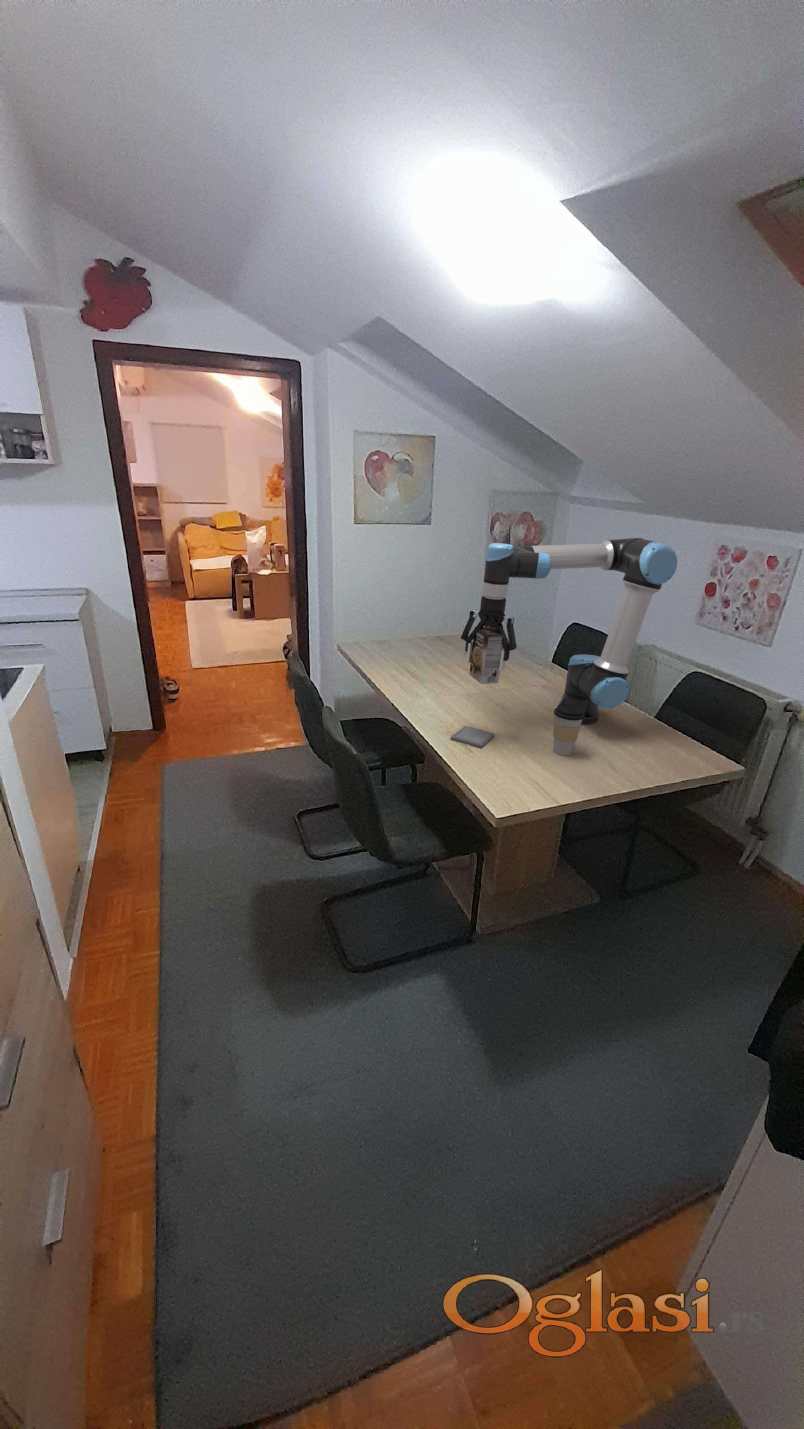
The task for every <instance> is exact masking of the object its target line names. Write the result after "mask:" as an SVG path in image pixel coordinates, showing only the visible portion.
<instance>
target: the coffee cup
mask: <svg viewBox="0 0 804 1429" xmlns="http://www.w3.org/2000/svg"><path fill="white" fill-rule="evenodd" d="M553 715H554V720H553V744H552V745H553V749H552V750H553V752H554V753H555V754H557V755H561V756H571V755H572V754H573V751H574V748H575V745H576V742H577V740H578V736H579V732H580V730H581V726H582V724H581V722H582V719H584V718H585V716H584V715H585V714H584V712H583V709H582V708H581V707H579V706H576V705H573V704H560V705H558V704H557V707H556V708H554V711H553Z"/></svg>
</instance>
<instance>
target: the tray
mask: <svg viewBox="0 0 804 1429" xmlns="http://www.w3.org/2000/svg"><path fill="white" fill-rule="evenodd" d="M494 738H495V733H493V732H489V731H486V730H483V729H478V728H476V727H475V728H474V727H471V726H467V725H464V726H463V727H461V728H460V729H459V730H458V731H456V732H455V733H454V734H453V735H452V736H450V740H451V741H453V742H456V743H461V744H465V745H468V746H470V747H475V748H479V749H483V748H484V747H485V746H486V745H488V743H489V742H490V741H491V740H493V739H494Z"/></svg>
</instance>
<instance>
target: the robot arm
mask: <svg viewBox="0 0 804 1429" xmlns="http://www.w3.org/2000/svg"><path fill="white" fill-rule="evenodd" d="M589 568H591V569H595V568H600V569H601V570H602V571H615V572H619V573H623V574H624V576H623V578H622V582H623V584H624V591H623V593H622V596H621V599H620V602H619V604H618V607H617V610H616V612H615V616H614V618H613V621H612V624H611V626H610V629H609V632H608V635H607V637H606V641H605V643H604V646H603V648H602V652H601V654H600V656H599V655H594V654H574V655H573V656H571V657H570V659H569V662H568V664H567V665H568V667H567V674H566V679H565V686H564V692H563V695H562V697H561V699H560V701H559V702H558V704H557V706H558V705H560V704H573V705H576V706H579V707H581V708H582V709H583V712H584V714H585V715H584V716H585V718H584V719H582V722H581V725H591V724H594V723H597V722H598V721H599V718H600V709H599V708H603V709H607V710H609V709H613V708H616V707H617V706H620V705H621V704H623V702H625V700H626V699H627V698H628V696H629V692H630V687H629V686H630V685H629V684H628V682H627V678H628V676H629V672H630V671H629V669H628V666H627V664H628V662H629V659H630V657H631V654H632V651H633V648H634V646H635V643H636V640H637V638H638V635H639V632H640V631H641V627H642V625H643V623H644V619H645V617H646V614H647V611H648V609H649V606H650V603H651V600H652V598H653V595H655V593H658V592H660V591H661V589H662V586H663V584H666V583H667V582H668V581H669V580H671V579H672V578H673V577H674V575H675V573H676V571H677V568H678V557H677V554H676V552H675V550H674V549H673V548H672V547H671V546H669V545H668V544H665V543H662V542H661V541H654V540H650V539H649V540H648V539H645V538H643V537H642V538H641V537H629V538H620V539H618V538H617V539H607V540H606V539H605V540H603V541H602V542H600V543H582V544H581V543H579V544H576V543H575V544H550V545H549V544H546V545H543V544H542V545H521V546H519V545H516V544H508V543H502V542H501V543H500V542H494V543H490V544H489V545H488V547H487V551H486V556H485V567H484V575H483V576H484V577H483V583H482V589H481V595H482V596H481V600H480V605H479V606H480V607H479V610H477V609H473V610H470V611H469V615H468V616H469V618H468V620H467V622H466V624H465V626H464V629H463V631H462V634H461V636H460V639H461V640H462V641H465V649H464V650H465V652H466V653H467V655H466V662H465V663H466V664H471V656H472V648H473V639H474V636H475V634H476V633H477V631H478V629H480V628H482V627H491V628H495V630H496V631H497V633H498V634H505V638H504V637H502V645H503V650H502V652H501V659H500V666H499V671H500V672H502V671H504V670H505V666H506V662H507V661H509V659H510V653H511V651H514V650H516V649H517V648H518V646H517V642H516V634H515V627H514V622H515V621H514V620H515V617H514V616H506V613H505V611H506V604H507V596H508V589H509V584H510V578H515V579H517V578H519V579H534V580H538V579H545V578H547V577H548V576H549V575H550V571H551V570H565V569H567V570H568V569H569V570H570V569H589ZM478 617H479V619H480V620H479V622H478V623H477V624H476V626H475V627H476V628H475V627H474V628H473V630H472V627H473V625H474V623H475V621H476V619H477V618H478ZM503 622H504V624H505V625H506V632H507V635H506V633H505V629H504V625H503ZM471 630H472V632H471ZM470 632H471V633H470Z"/></svg>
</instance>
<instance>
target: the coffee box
mask: <svg viewBox="0 0 804 1429" xmlns="http://www.w3.org/2000/svg"><path fill="white" fill-rule="evenodd" d="M475 628H476V626H474V629H475ZM505 634H506V633H505ZM505 634H498V633H497V631H496V630H495V628H491V627H485V626H483V627H482V628H480V629H478V631H477V633H476V634H475V636H474V639H473V640H472V642H473V648H472V656H471V662H470V663H469V674H468V675H469V676H470V677H472V678H473V679H474V680H476V681H477V682H478V683H479V684H480V685H491V684H499V681H500V674H501V671H499V666H500V659H501V652H502V650H504V648H503V645H502V637H504V638H505Z"/></svg>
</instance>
